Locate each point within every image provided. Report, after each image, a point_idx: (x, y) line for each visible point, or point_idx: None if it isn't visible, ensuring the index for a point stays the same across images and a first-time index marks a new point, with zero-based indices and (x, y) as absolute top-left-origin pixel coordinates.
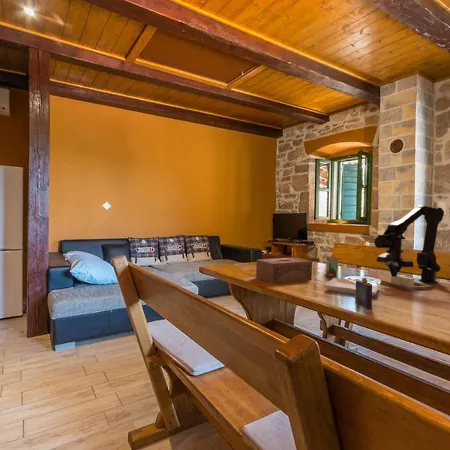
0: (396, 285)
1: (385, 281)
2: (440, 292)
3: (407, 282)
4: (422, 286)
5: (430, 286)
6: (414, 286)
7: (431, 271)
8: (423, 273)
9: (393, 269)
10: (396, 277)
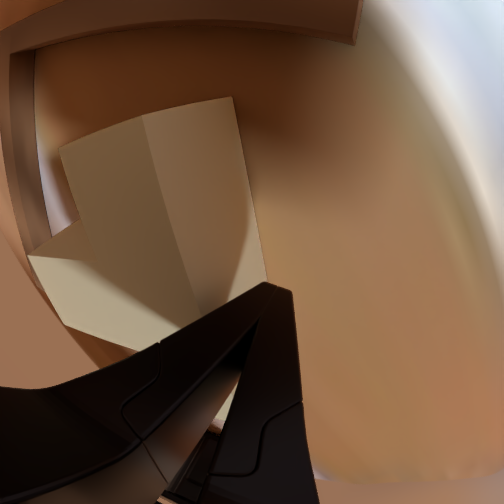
0: (52, 6)
1: (250, 2)
2: (10, 233)
3: (80, 229)
4: (17, 217)
5: (32, 273)
6: (11, 154)
7: (167, 488)
8: (202, 482)
9: (110, 399)
10: (74, 160)
